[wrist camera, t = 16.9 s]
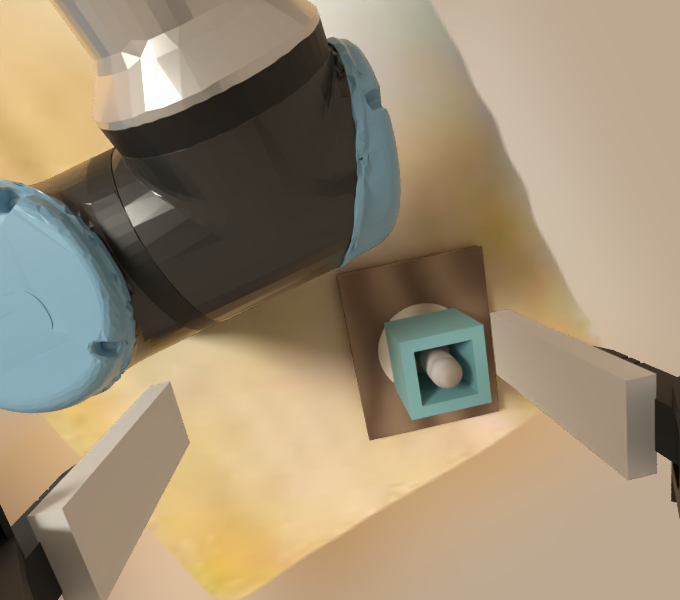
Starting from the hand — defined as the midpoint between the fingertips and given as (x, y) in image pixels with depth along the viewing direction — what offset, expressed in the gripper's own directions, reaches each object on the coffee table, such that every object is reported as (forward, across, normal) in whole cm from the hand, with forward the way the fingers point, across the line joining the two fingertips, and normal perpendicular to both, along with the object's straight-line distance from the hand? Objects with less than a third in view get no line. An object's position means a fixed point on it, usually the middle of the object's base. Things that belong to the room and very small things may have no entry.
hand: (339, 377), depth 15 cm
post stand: (+27, +10, -10) cm, 30 cm away
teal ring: (+25, +10, -10) cm, 29 cm away
